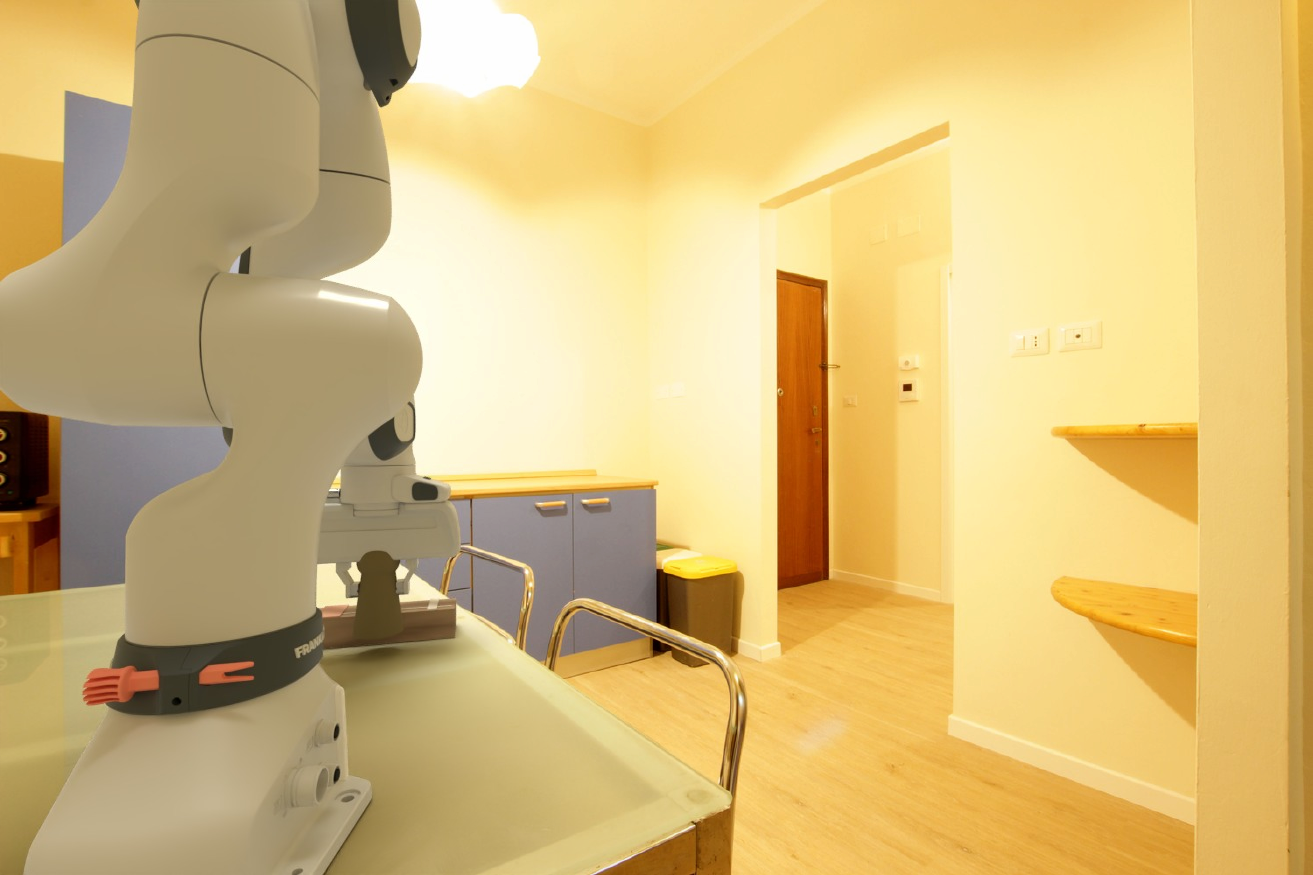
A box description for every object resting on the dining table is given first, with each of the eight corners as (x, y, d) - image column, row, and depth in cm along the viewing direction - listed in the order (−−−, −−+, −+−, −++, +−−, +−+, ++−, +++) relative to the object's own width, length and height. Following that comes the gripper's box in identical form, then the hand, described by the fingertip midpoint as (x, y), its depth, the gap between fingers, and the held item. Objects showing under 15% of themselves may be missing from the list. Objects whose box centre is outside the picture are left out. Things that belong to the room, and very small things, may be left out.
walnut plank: (454, 637, 84) (454, 607, 84) (292, 651, 78) (292, 619, 79) (456, 625, 90) (456, 596, 90) (305, 637, 84) (305, 607, 84)
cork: (366, 642, 73) (367, 552, 74) (343, 633, 77) (343, 547, 77) (413, 630, 78) (413, 545, 78) (388, 622, 82) (389, 541, 82)
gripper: (279, 491, 72) (278, 607, 72) (459, 487, 78) (459, 595, 77) (295, 488, 78) (294, 595, 78) (461, 484, 84) (461, 584, 83)
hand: (378, 595), depth 78 cm, fingers closed on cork, 4 cm apart
